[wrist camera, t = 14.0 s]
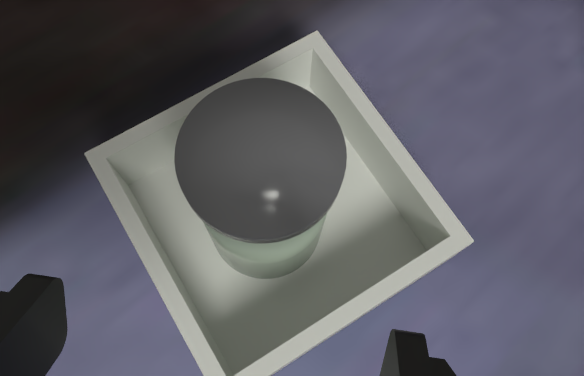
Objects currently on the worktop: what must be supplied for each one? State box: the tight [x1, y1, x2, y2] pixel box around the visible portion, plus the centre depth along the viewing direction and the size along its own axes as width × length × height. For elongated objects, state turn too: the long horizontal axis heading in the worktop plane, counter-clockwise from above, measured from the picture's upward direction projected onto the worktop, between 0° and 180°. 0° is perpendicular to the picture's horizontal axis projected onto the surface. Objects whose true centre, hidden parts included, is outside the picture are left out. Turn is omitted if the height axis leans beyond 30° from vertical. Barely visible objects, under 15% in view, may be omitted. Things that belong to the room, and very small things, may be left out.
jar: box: [174, 78, 347, 279], centre depth 25 cm, size 6×6×10 cm
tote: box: [84, 31, 474, 376], centre depth 28 cm, size 14×14×5 cm
